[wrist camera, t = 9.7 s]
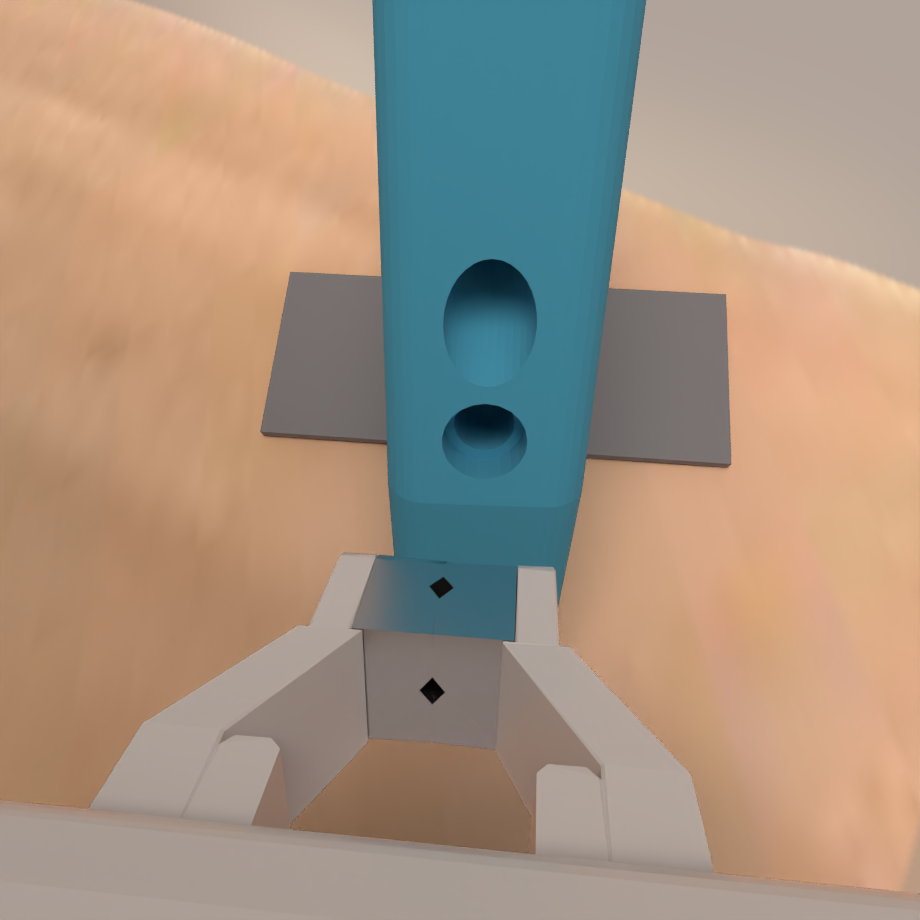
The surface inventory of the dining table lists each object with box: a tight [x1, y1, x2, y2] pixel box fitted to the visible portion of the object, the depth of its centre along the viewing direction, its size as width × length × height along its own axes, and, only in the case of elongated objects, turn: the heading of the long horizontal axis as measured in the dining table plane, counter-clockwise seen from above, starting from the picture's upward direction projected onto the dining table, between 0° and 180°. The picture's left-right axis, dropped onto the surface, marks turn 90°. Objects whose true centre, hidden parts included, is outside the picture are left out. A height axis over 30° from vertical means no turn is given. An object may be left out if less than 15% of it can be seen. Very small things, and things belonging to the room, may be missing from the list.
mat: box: [260, 272, 731, 467], centre depth 31 cm, size 20×8×1 cm, turn 85°
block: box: [373, 0, 646, 606], centre depth 21 cm, size 12×5×20 cm
